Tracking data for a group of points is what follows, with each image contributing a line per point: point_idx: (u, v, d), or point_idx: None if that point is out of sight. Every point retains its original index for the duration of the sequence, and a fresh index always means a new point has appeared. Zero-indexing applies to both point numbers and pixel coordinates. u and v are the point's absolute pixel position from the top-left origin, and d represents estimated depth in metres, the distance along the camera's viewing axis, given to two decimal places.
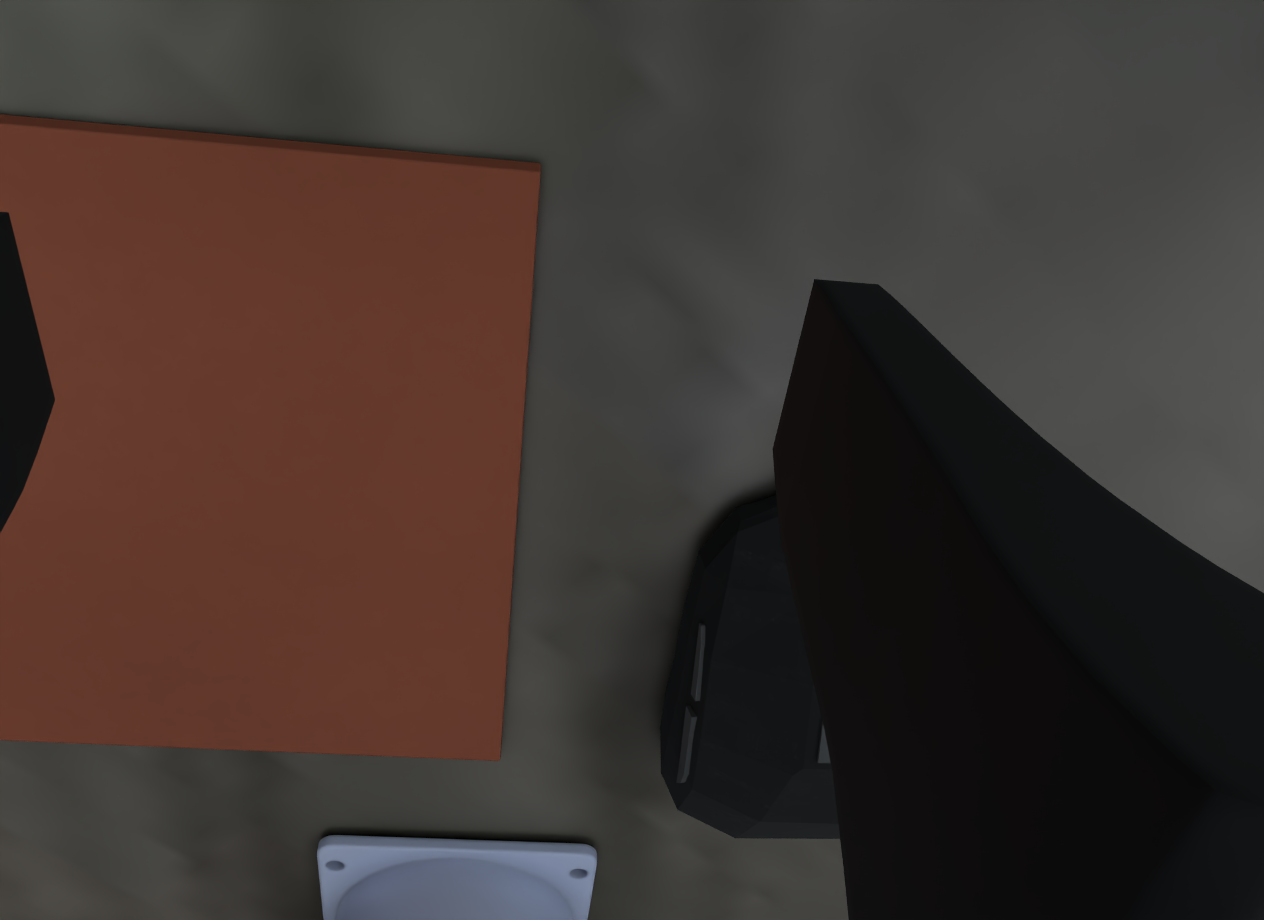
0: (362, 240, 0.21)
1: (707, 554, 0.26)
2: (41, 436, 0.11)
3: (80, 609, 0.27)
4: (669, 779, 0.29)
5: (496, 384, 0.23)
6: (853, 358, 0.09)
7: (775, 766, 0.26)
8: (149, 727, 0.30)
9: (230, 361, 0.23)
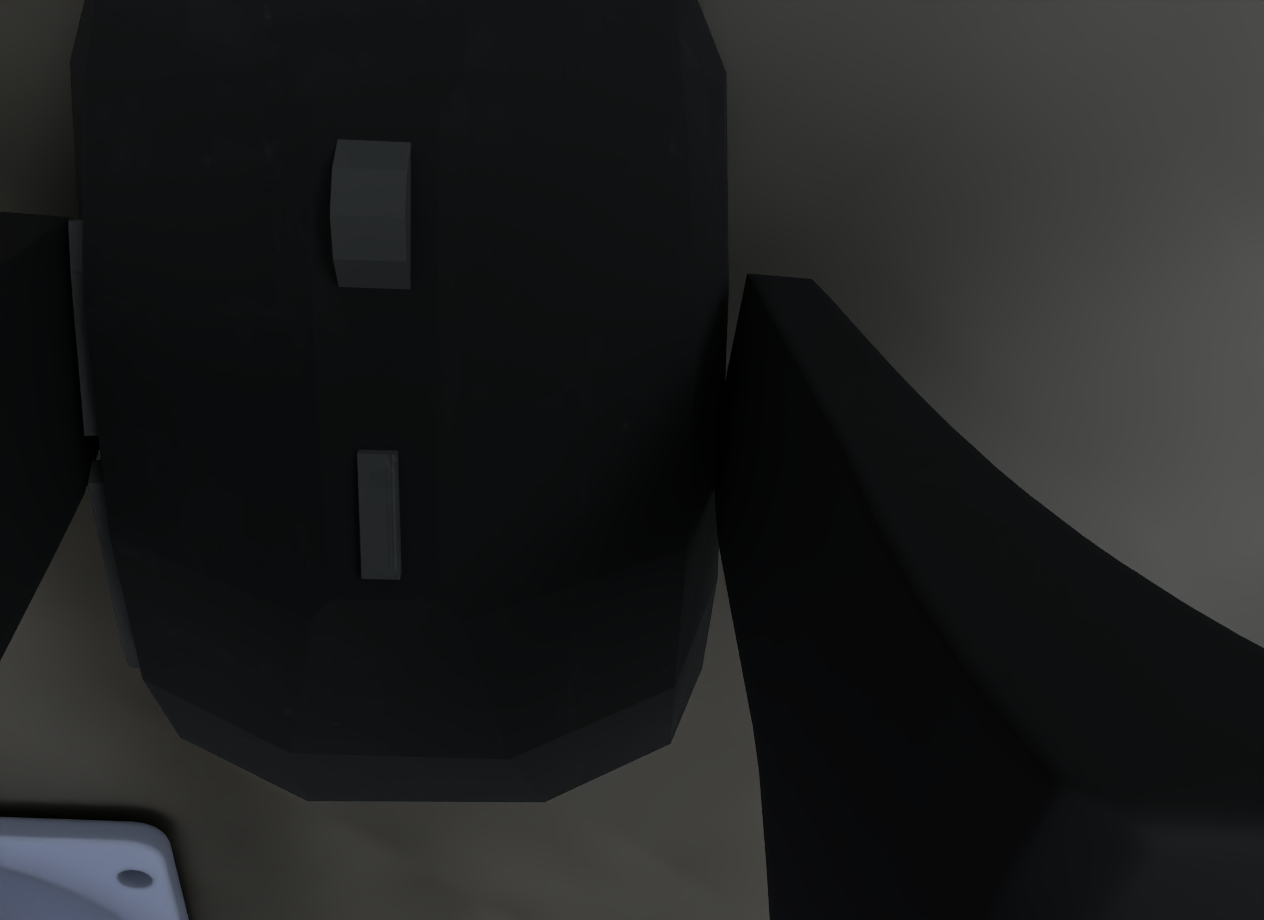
0: None
1: None
2: None
3: None
4: None
5: None
6: (777, 352, 0.09)
7: (271, 596, 0.10)
8: None
9: None
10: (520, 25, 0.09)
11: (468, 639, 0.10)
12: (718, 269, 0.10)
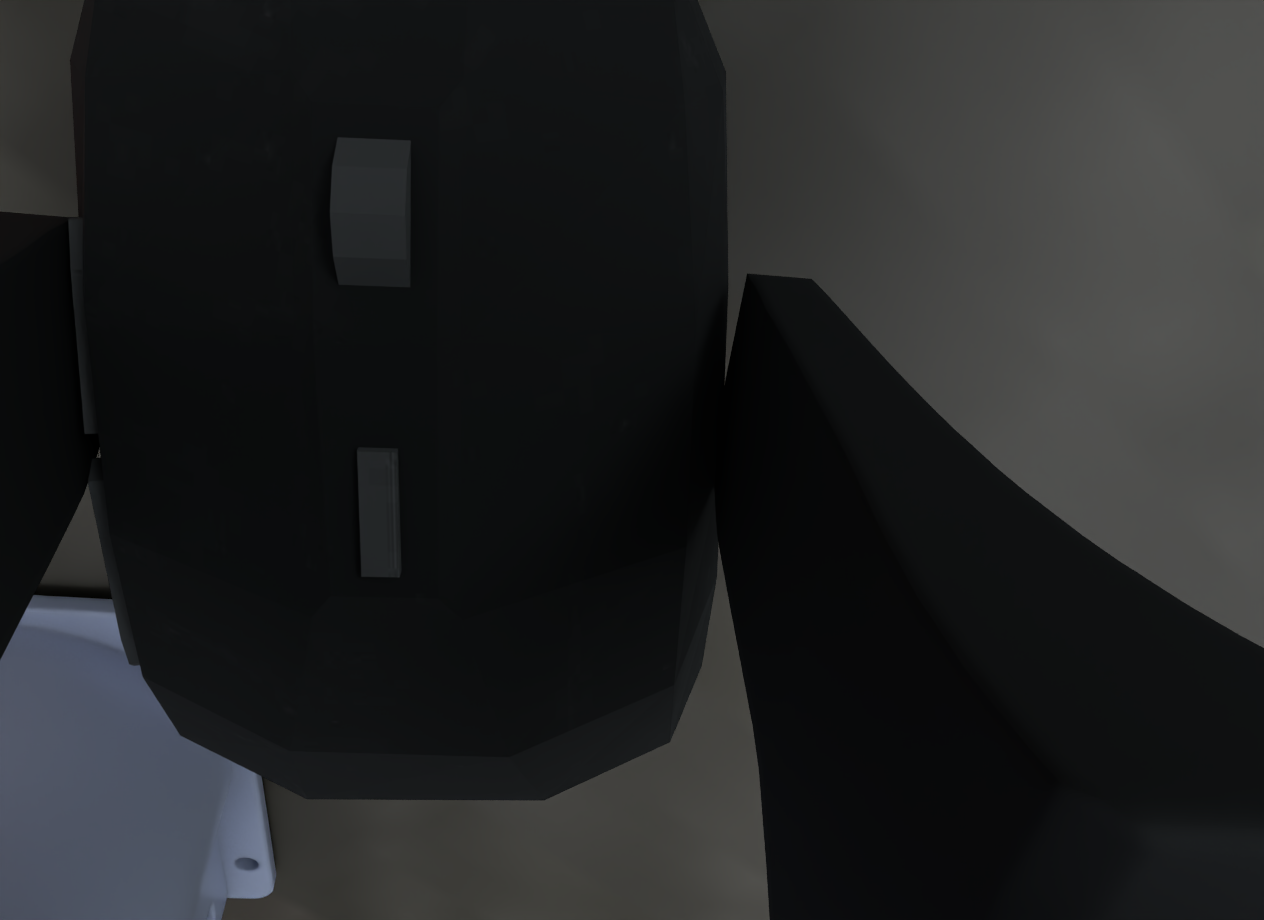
0: None
1: None
2: None
3: None
4: None
5: None
6: (778, 352, 0.09)
7: (270, 595, 0.10)
8: None
9: None
10: (519, 23, 0.09)
11: (468, 637, 0.10)
12: (718, 267, 0.10)
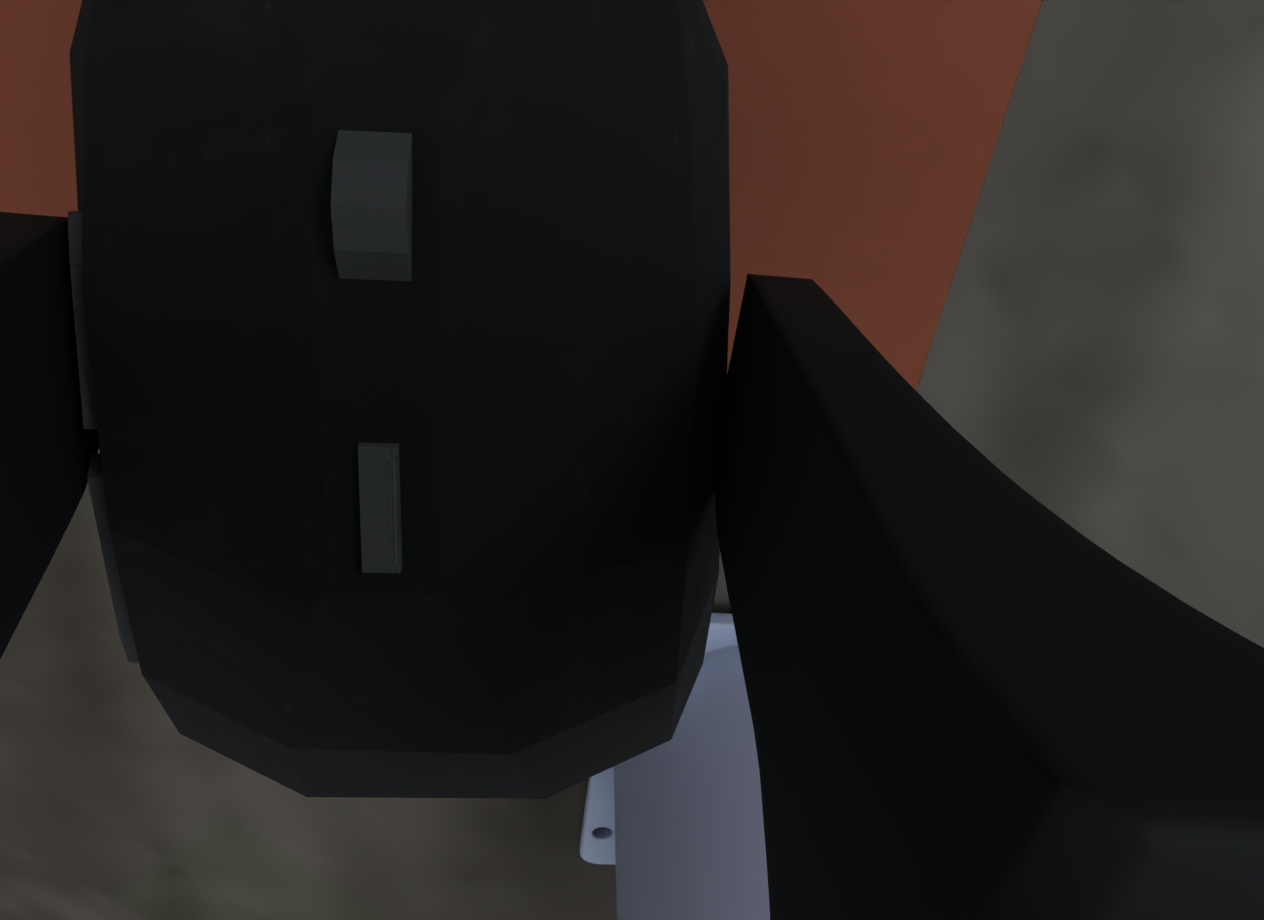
0: None
1: None
2: None
3: None
4: None
5: None
6: (778, 352, 0.09)
7: (269, 591, 0.10)
8: None
9: None
10: (521, 16, 0.09)
11: (470, 633, 0.10)
12: (720, 261, 0.10)
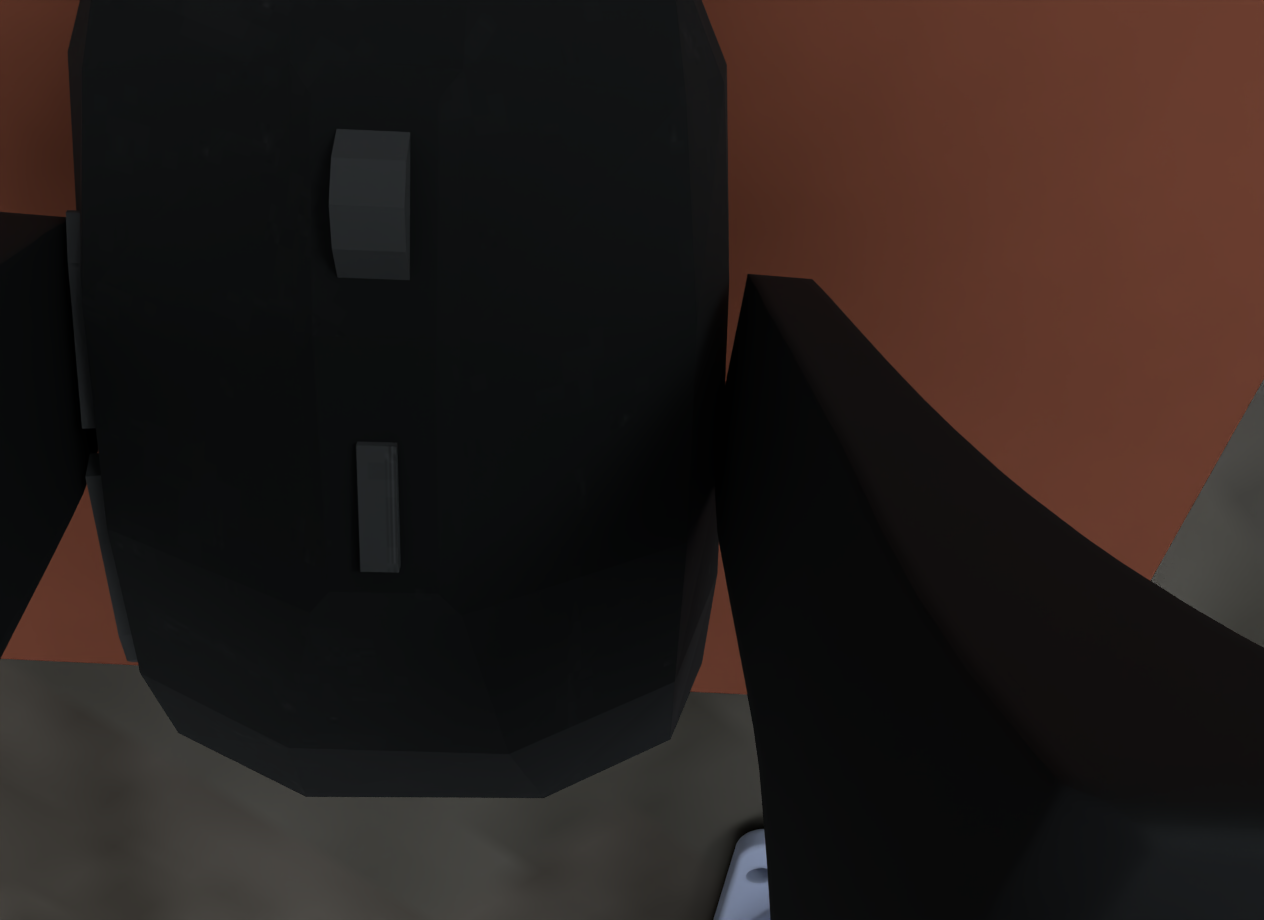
0: None
1: None
2: None
3: None
4: None
5: None
6: (778, 351, 0.09)
7: (269, 589, 0.10)
8: None
9: None
10: (520, 14, 0.09)
11: (468, 632, 0.10)
12: (720, 261, 0.10)
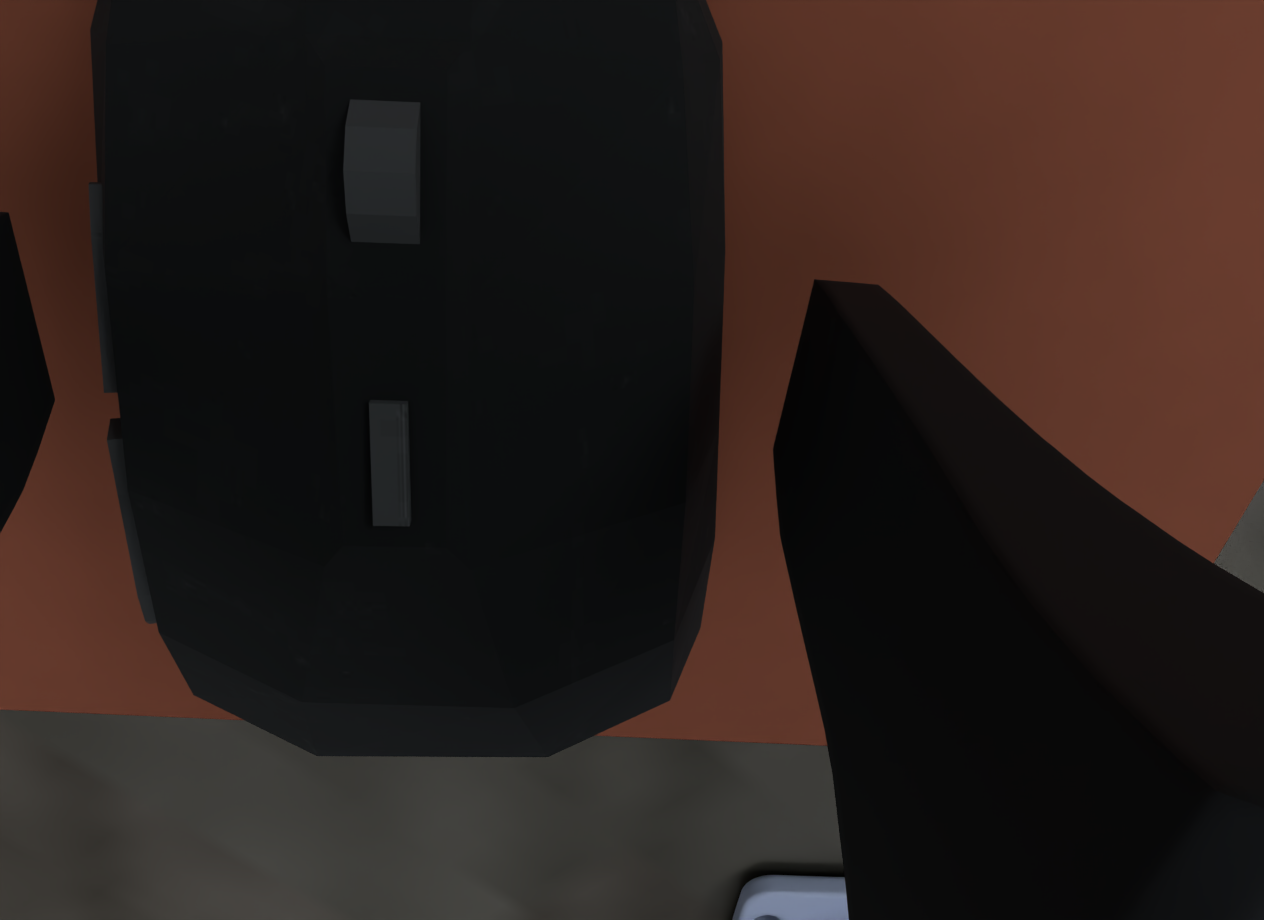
0: None
1: None
2: (41, 435, 0.11)
3: None
4: None
5: None
6: (853, 358, 0.09)
7: (284, 545, 0.10)
8: None
9: None
10: None
11: (476, 586, 0.10)
12: (715, 229, 0.11)
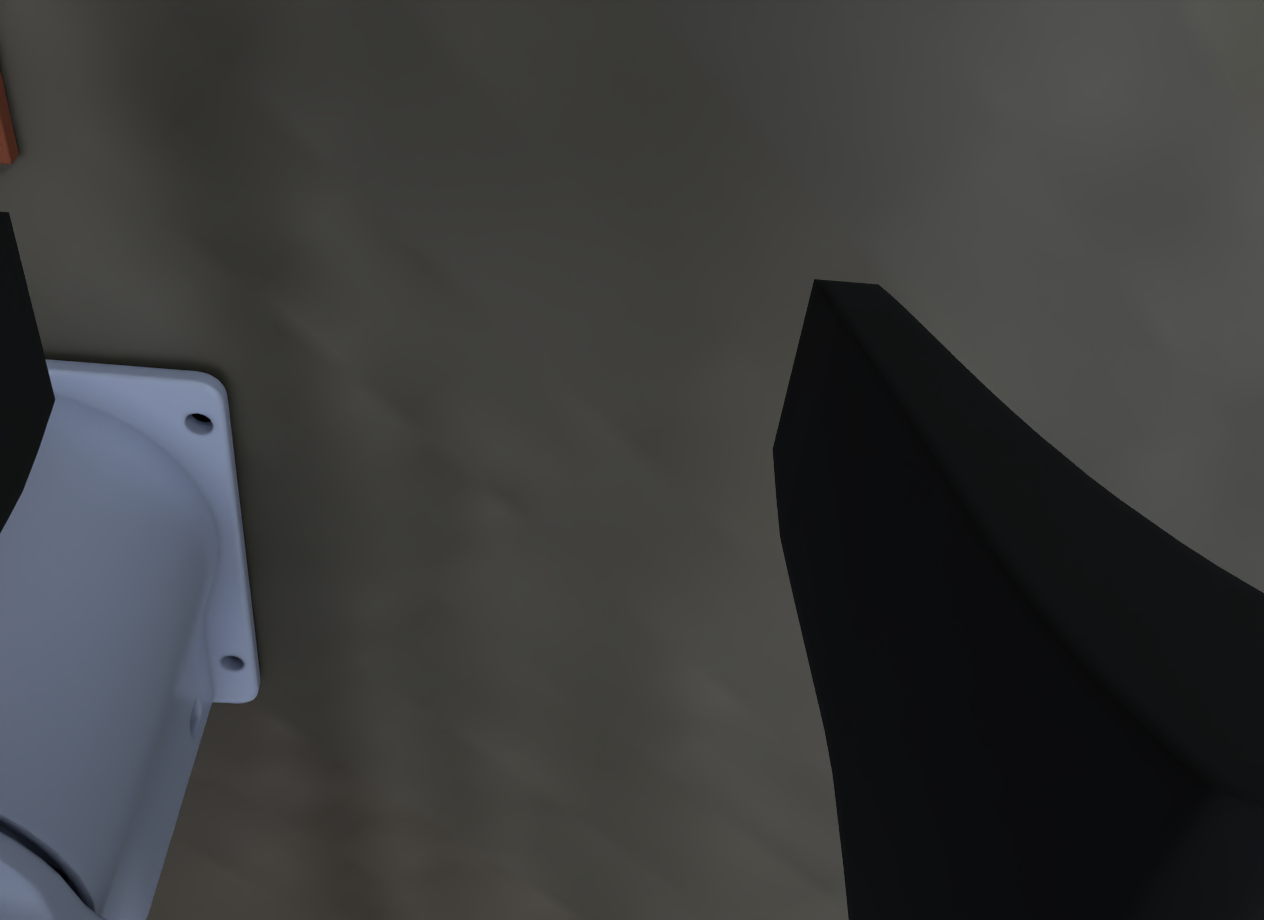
0: None
1: None
2: (41, 436, 0.11)
3: None
4: None
5: None
6: (853, 358, 0.09)
7: None
8: None
9: None
10: None
11: None
12: None
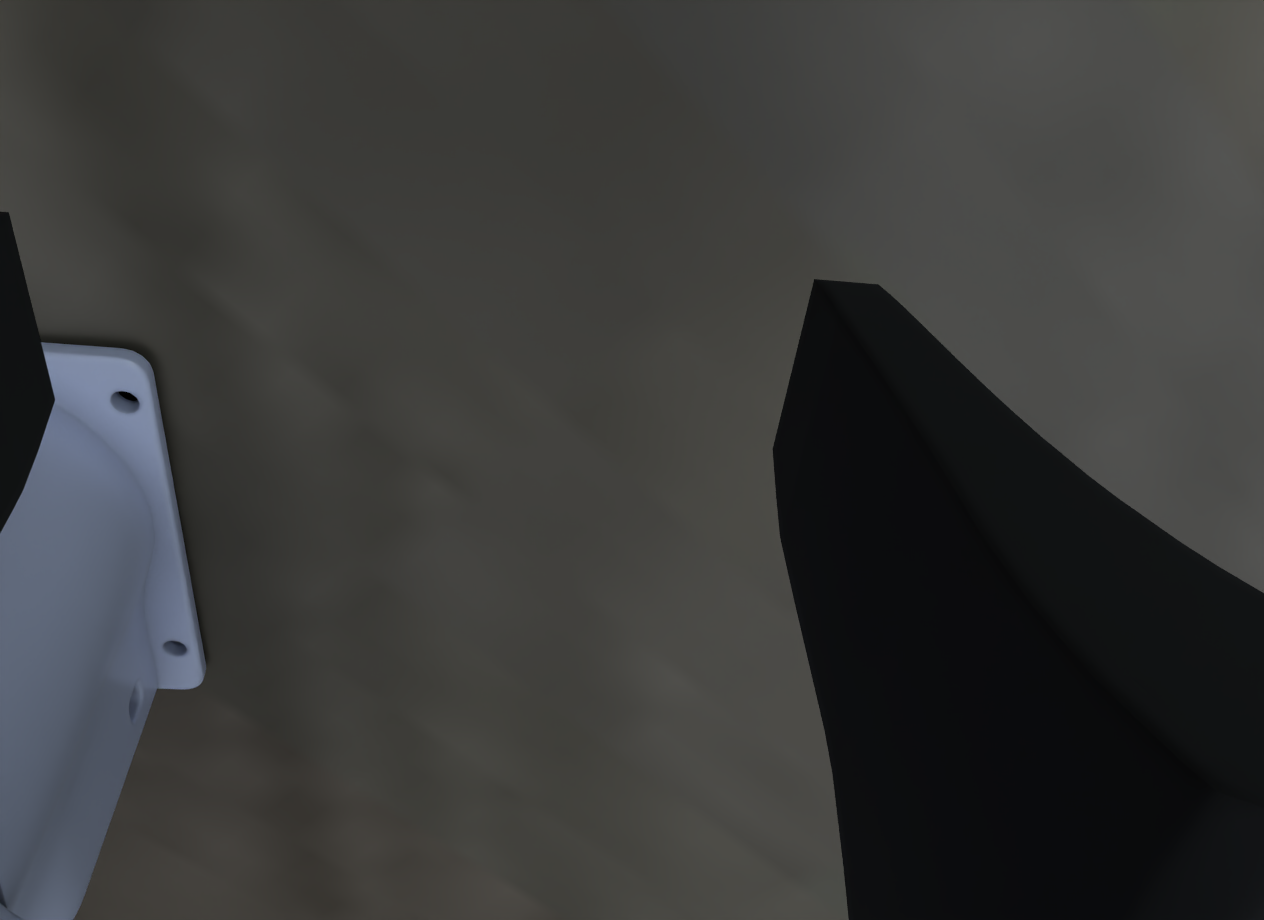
0: None
1: None
2: (41, 436, 0.11)
3: None
4: None
5: None
6: (853, 358, 0.09)
7: None
8: None
9: None
10: None
11: None
12: None
